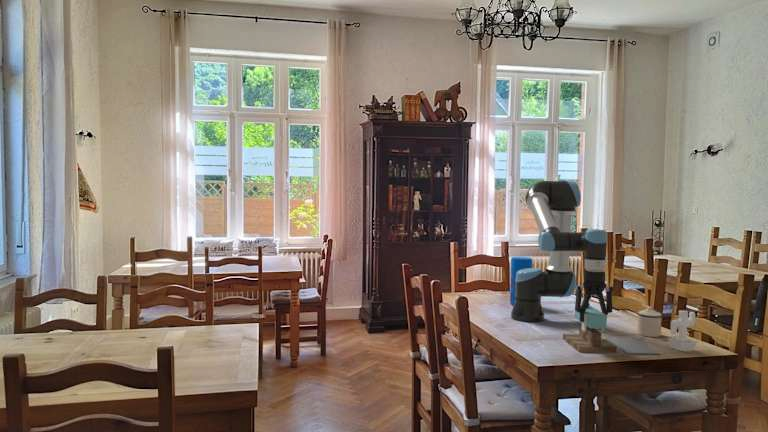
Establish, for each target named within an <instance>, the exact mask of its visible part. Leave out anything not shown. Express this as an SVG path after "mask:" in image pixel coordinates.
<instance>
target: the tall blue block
mask: <svg viewBox="0 0 768 432" xmlns="http://www.w3.org/2000/svg"><path fill="white" fill-rule="evenodd" d="M527 268H533V258H531V257H527V256H513V257H511V258H510V284H509V304H511V305H512V306H511V305H510V306H511V307H513V306H514V303H515V290H516V281H515V280H516V273H517V271H519V270H521V269H527Z"/></svg>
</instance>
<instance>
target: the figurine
mask: <svg viewBox="0 0 768 432" xmlns="http://www.w3.org/2000/svg"><path fill="white" fill-rule="evenodd" d="M688 315H689V316H688ZM695 323H696V313H695V312H694V311H689V313H688V310H678V319H672V320H671V322H670V334H671V335H677V330H678V335H677V337H667V340H668V343H669V344H670V346H671V348H672V349H673V348H674V350H675V351H678V350H679V352H681V351H684V352H692V351H693V349H694V348H695V347H696V346H697V344H698V342H697V341H696V340H692V339H689V338H687V337H688V336H687V331H688V327H689V328H690V327H694V326H695Z"/></svg>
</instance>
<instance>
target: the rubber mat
mask: <svg viewBox="0 0 768 432" xmlns="http://www.w3.org/2000/svg"><path fill="white" fill-rule="evenodd" d="M604 339H605V340H607V341H608V342H610V343H611V344H613V345H614V346H616V347H617V350H620V351H621V352H623V353H625V354H626V355H643V356H644V355H646V356H649V355H653V356H654V355H655V356H660V354H661V353H660V352H658V351H657V350H655V349H654V348H652V347H650V346H648V345H646V344H645V343H643V342H641V341H640V340H638V339H636V338H634V337H633V338H632V337H626V338H625V337H605V338H604Z"/></svg>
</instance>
